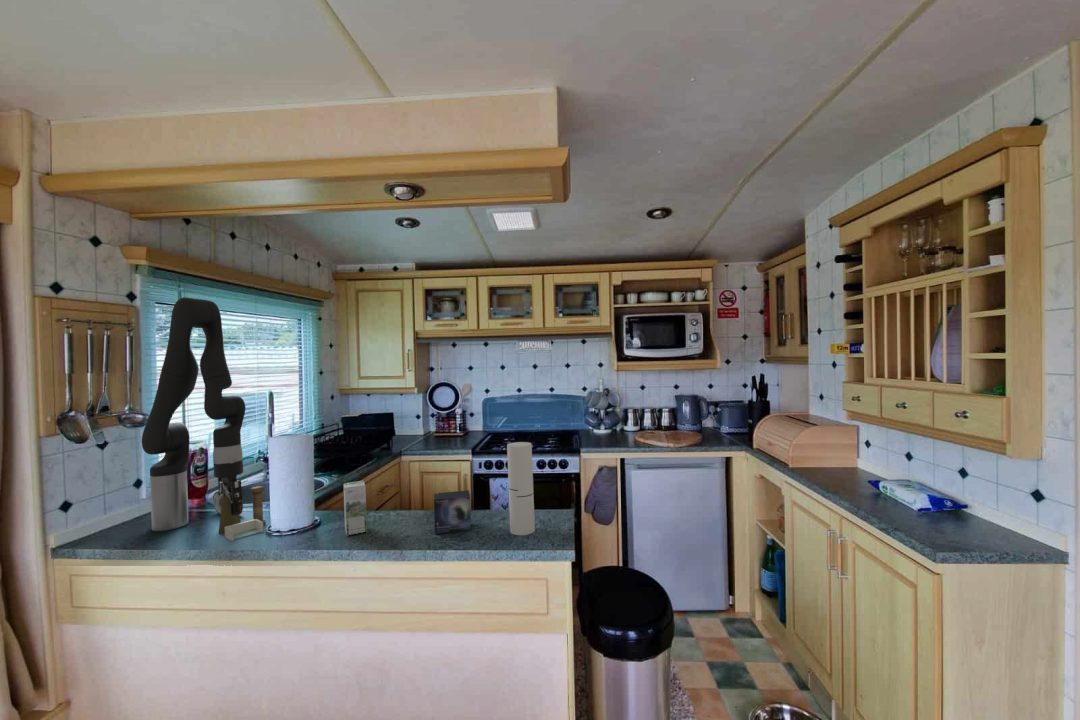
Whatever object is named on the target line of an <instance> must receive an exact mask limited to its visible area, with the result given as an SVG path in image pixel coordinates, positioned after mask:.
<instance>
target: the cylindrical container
mask: <svg viewBox="0 0 1080 720" xmlns="http://www.w3.org/2000/svg"><path fill="white" fill-rule="evenodd" d="M532 448H533V446H532V443H531V442H529V441H528V442H527V441H516V442H515V441H514V442H511V443H507V445H506V453H507V455H506V456H507V478H508V479H507V481H508V504H509V507H508V508H509V532H510V534H512V535H514V536H527V535H531V534H533V533H534V532H535V531H536V527H535V526H536V525H535V524H536V523H535V503H534V502H535V499H534V472H533V470H534V468H533V449H532Z"/></svg>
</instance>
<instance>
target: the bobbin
mask: <svg viewBox="0 0 1080 720" xmlns="http://www.w3.org/2000/svg"><path fill="white" fill-rule="evenodd" d="M264 488H265V487H264V486H262V485H259V486H258V485H257V486H253V487H251V488H249V489H250V491H249V492H250V493H252V517H253V519H258V520H260V521H262V522H263V525H264V526H265V524H266V525H267V521H266V519H265V520H264V509H263V508H264V507H263V505H264V504H263V491H264V490H265V489H264ZM253 519H252V520H253Z"/></svg>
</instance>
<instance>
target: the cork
mask: <svg viewBox="0 0 1080 720" xmlns="http://www.w3.org/2000/svg"><path fill="white" fill-rule="evenodd" d="M235 497H236V496H235ZM219 505H220V506H221V507H222V508H221V514H220V516H219V517H220V518H219V526H218V534H219V535H225V527H226V526H230V525H234V524H238V523H242V522H241V517H240V515H239V514H237V515H231V509H230V500H229V497H227V496H226V495H225V496H223V497H221V498H220V500H219Z"/></svg>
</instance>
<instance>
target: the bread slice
mask: <svg viewBox="0 0 1080 720" xmlns="http://www.w3.org/2000/svg"><path fill="white" fill-rule="evenodd" d="M212 500H213V508H214V510H215V512H217V514H219V515H221V508H222V507H221V506H220V505H219V500H220V496H219V495H218V490H217V491H214V493H213V495H212ZM239 506H240V513H239V516H240V515H242V514H243V510H244V504H243V499H242V500H240V501H239Z"/></svg>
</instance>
